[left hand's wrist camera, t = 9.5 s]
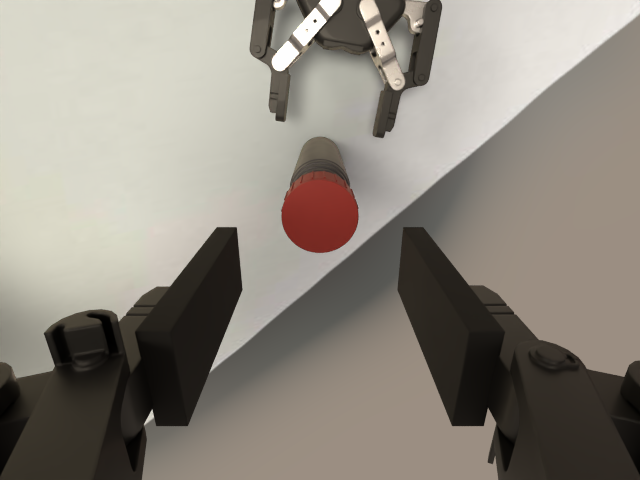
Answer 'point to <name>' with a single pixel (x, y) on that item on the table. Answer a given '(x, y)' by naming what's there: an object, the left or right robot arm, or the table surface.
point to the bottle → (320, 159)
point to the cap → (319, 212)
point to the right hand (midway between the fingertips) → (329, 128)
